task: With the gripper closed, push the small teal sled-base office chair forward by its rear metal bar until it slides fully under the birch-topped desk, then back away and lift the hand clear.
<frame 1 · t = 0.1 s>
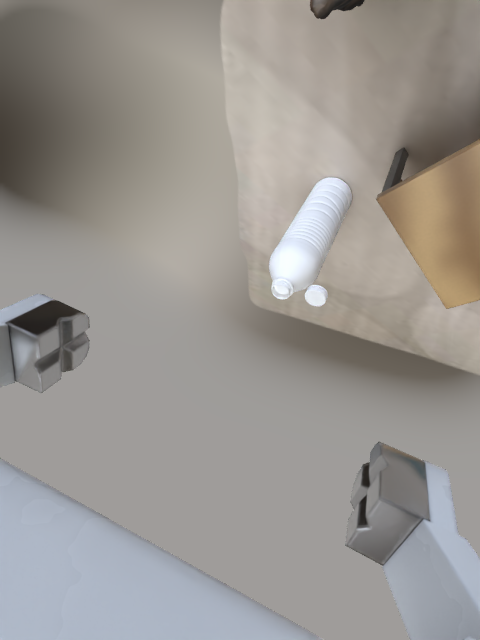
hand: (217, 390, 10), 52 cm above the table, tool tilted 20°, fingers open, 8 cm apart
water bottle: (339, 195, 59), on the table
desk: (476, 178, 50), on the table
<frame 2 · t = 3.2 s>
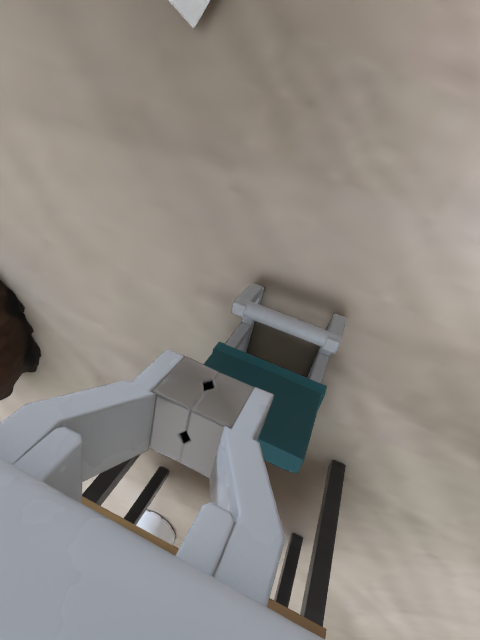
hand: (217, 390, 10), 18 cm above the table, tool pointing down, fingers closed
chair: (275, 366, 31), on the table
water bottle: (160, 523, 49), on the table
desk: (239, 469, 38), on the table
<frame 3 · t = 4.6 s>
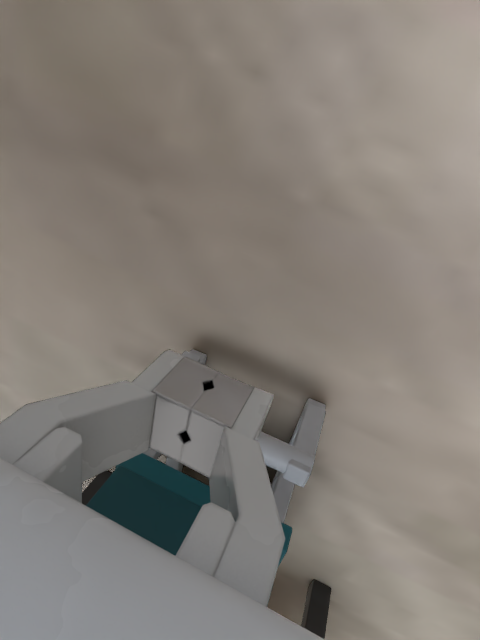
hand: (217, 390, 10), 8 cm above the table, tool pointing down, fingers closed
chair: (230, 458, 22), on the table
desk: (194, 571, 29), on the table
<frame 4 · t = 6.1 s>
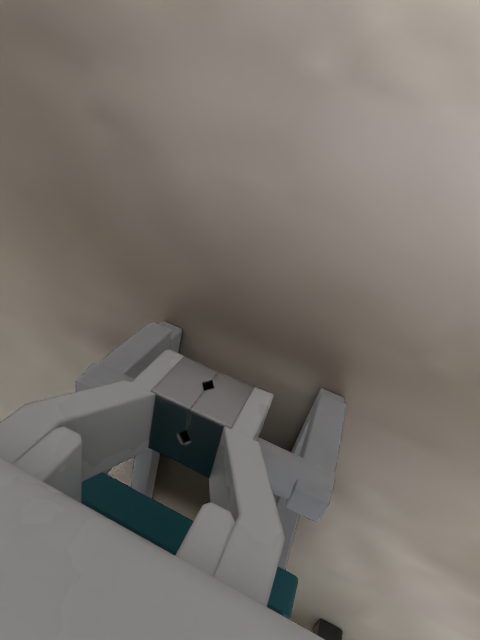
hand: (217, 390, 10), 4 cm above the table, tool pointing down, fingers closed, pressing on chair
chair: (215, 467, 17), on the table, touching gripper
desk: (173, 600, 24), on the table
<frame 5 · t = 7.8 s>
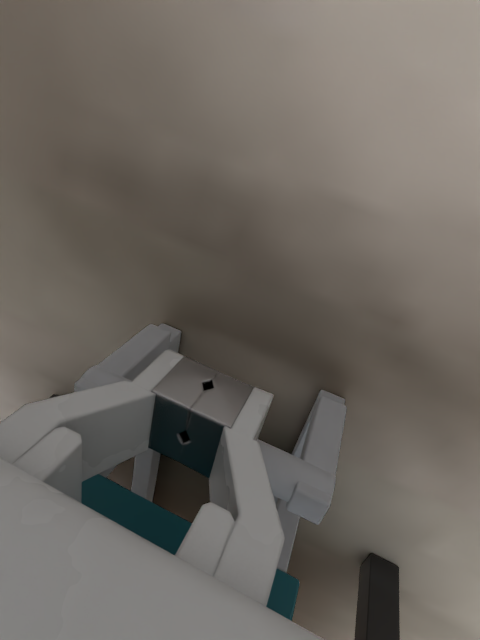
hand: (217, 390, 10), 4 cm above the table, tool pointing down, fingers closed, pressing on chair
chair: (215, 469, 17), on the table, touching gripper
desk: (186, 546, 21), on the table
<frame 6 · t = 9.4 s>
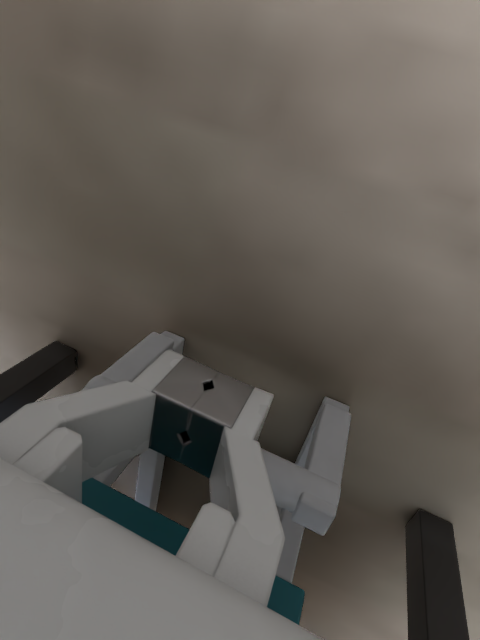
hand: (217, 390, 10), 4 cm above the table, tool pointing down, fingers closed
chair: (219, 476, 17), on the table
desk: (202, 515, 19), on the table
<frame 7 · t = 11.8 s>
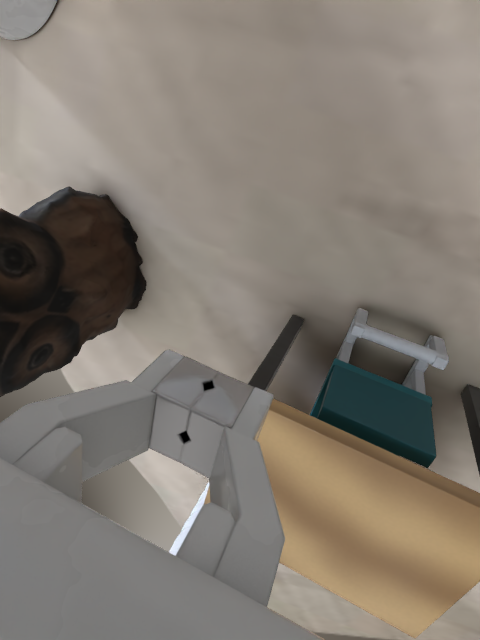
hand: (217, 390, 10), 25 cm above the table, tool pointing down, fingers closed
owl: (102, 252, 42), on the table
chair: (369, 379, 36), on the table
water bottle: (247, 473, 48), on the table
desk: (354, 403, 37), on the table
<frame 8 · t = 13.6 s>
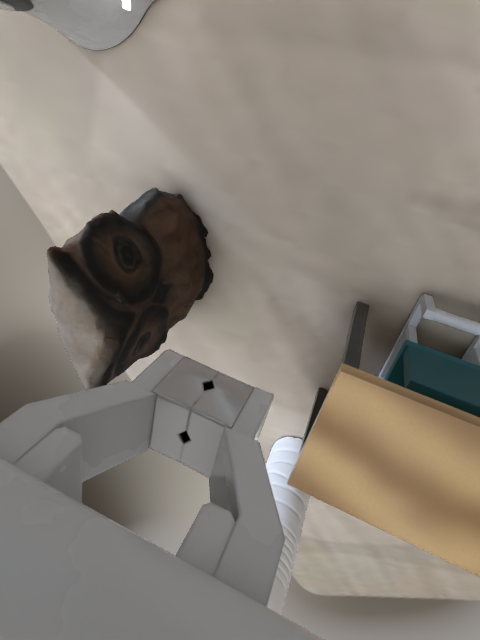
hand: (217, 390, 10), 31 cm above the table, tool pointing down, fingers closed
owl: (170, 247, 45), on the table
chair: (427, 358, 39), on the table
water bottle: (301, 450, 52), on the table
desk: (411, 381, 41), on the table
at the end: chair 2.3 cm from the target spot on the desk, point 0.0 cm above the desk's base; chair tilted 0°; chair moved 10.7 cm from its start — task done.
